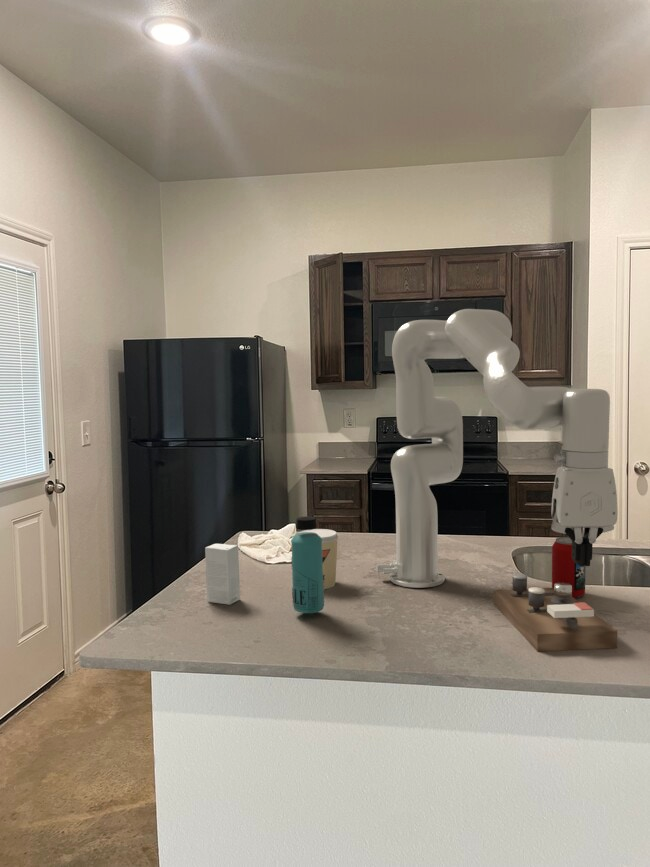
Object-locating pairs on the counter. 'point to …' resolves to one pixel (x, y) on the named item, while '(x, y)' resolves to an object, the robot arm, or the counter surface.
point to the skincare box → (222, 573)
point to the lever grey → (519, 583)
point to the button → (563, 590)
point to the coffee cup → (328, 555)
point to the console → (554, 623)
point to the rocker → (570, 610)
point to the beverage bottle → (307, 568)
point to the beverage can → (567, 567)
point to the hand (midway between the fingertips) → (581, 563)
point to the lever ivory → (536, 597)
